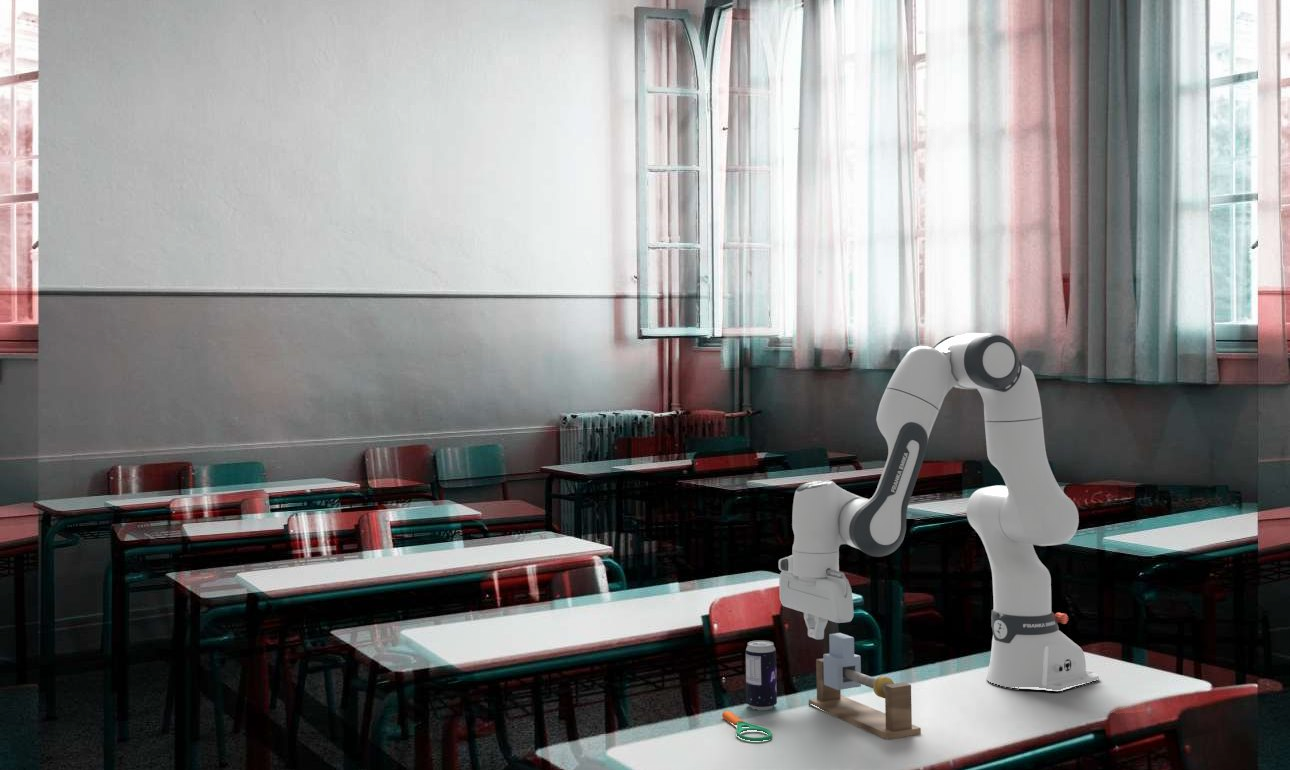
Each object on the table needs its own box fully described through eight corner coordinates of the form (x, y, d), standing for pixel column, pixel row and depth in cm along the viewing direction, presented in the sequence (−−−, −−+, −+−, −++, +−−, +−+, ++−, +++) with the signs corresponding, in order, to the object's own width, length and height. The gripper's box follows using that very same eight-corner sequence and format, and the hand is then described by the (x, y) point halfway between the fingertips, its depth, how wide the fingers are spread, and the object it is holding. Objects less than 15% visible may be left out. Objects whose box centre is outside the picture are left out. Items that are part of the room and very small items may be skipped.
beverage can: (775, 712, 211) (774, 647, 211) (744, 710, 212) (743, 646, 212) (778, 703, 216) (777, 640, 216) (748, 702, 217) (747, 639, 217)
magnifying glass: (778, 742, 194) (778, 732, 194) (746, 746, 192) (746, 736, 192) (741, 718, 208) (741, 709, 208) (711, 722, 206) (711, 712, 206)
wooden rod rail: (808, 704, 215) (807, 657, 215) (839, 699, 218) (838, 652, 218) (887, 739, 193) (886, 686, 193) (920, 733, 196) (919, 681, 196)
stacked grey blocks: (823, 684, 212) (823, 635, 212) (847, 680, 214) (846, 632, 214) (837, 690, 208) (836, 639, 208) (861, 686, 210) (860, 636, 210)
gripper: (861, 572, 210) (862, 647, 210) (800, 557, 229) (800, 626, 229) (833, 574, 207) (833, 650, 207) (773, 559, 226) (773, 629, 226)
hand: (815, 637), depth 218 cm, fingers closed
